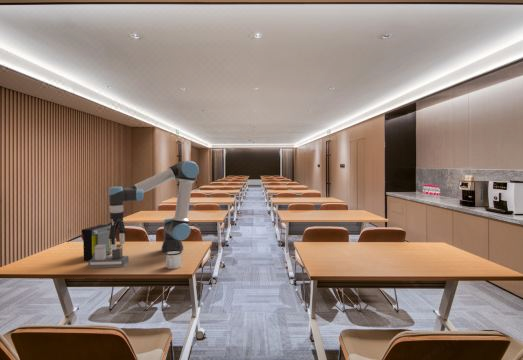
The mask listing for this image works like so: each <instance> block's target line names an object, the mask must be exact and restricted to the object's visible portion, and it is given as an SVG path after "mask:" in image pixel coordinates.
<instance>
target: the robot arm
mask: <svg viewBox="0 0 523 360" xmlns="http://www.w3.org/2000/svg"><path fill="white" fill-rule="evenodd" d="M199 173H200V169H199V165H198V164H197V163H196V162H195V161H192V160H182V161H181V160H180V161H178V162H177V163H175V164H173V165H171V166H169V167H167V169H166V170H164V171H161V172H159V173H157V174H155V175H152V176H150V177H148V178H146V179H144V180H142V181H139V182H138V183H135V184H133V185H131V186H128V187H124V188H123V186H110V187H109V188H108V197H109V198H108V201H109V207H108V208H109V212H110V213H109V218H110V219H111V220H112V221H111V222H110V225H111V227H110V234H109V239H111V250H116V244H117V238H116V236H117V231H119V244H122V245H124V244H126V242H125V234H126V233H127V232H126V227H125V223H124V215H125V214H124V211H125V210H124V202H139V201H143V199H144V196H145V194H144V193H146V192H149V191H150V190H153V189H154V188H156V187H159V186H161V185H163V184H166V183H167V182H169V181H171V180H172V181H173V180H174V181H175V180H178V182H179V184H178V192H177V199H176V205H175V212H174V216H173V217H172V218H165V219H164V220H163V242H162V245H161V252H162V253H165V252H167V251H170V250H180V251H184V245H183V242H182V241H184V240H186V239H187V238H188V237H189V236H190V234H191V227H190V220H189V218H188V217H189V216H188V215H189V208H190V202H191V195H192V188H193V184H194V183H195V182H196V177H197V176H198V175H199Z"/></svg>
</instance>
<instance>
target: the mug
mask: <svg viewBox="0 0 523 360" xmlns="http://www.w3.org/2000/svg"><path fill="white" fill-rule="evenodd" d="M182 251H183V250H182ZM182 251H180V250H170V251H167V252H164V254H165V256H166V259H165V261H166V265H165V266H166V267H165V268H166V269H167V270H177V269H180V268H181V267H182V255H181V254H182V253H183V252H182Z"/></svg>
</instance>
